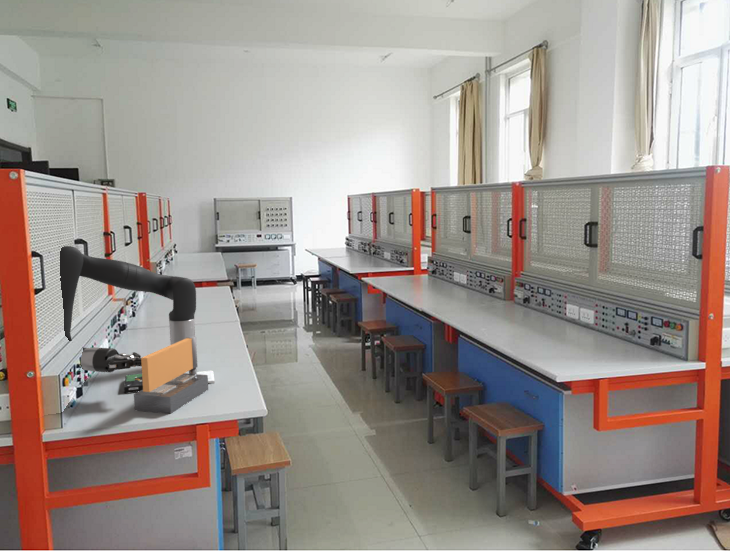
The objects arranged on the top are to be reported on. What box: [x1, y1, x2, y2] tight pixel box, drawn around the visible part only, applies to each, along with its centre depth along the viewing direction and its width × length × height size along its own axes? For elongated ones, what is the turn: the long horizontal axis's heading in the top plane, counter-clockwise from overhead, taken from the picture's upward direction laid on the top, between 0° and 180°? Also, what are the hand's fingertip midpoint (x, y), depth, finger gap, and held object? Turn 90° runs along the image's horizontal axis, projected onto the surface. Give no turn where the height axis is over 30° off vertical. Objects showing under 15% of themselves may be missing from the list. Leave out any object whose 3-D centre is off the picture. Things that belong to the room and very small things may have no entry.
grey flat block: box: [133, 373, 209, 415], centre depth 180 cm, size 22×12×5 cm, turn 166°
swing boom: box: [141, 336, 198, 392], centre depth 179 cm, size 27×3×10 cm, turn 166°
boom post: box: [188, 368, 197, 374], centre depth 192 cm, size 2×2×7 cm
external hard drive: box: [196, 370, 215, 384], centre depth 201 cm, size 2×8×12 cm
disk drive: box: [123, 372, 143, 394], centre depth 195 cm, size 10×3×15 cm
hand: (147, 362), depth 179 cm, fingers closed
